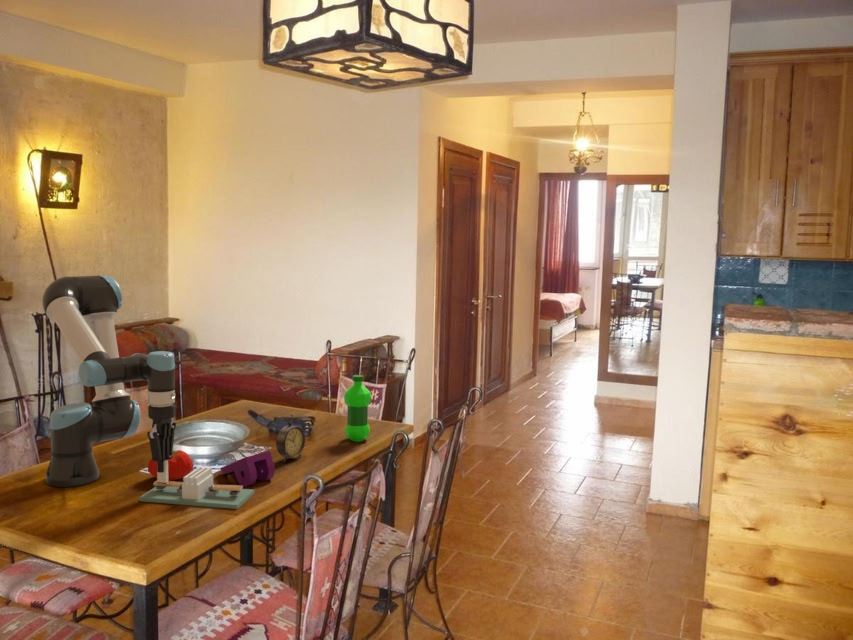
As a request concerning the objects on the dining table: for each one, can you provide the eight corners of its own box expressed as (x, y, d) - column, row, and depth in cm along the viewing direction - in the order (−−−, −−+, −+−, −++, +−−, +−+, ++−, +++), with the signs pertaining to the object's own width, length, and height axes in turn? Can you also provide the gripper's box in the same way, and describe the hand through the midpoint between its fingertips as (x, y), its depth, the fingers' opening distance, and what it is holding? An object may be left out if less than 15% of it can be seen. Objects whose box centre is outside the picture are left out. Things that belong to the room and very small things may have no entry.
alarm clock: (285, 464, 251) (285, 418, 250) (273, 462, 254) (273, 416, 252) (305, 456, 261) (306, 412, 259) (294, 454, 264) (294, 409, 262)
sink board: (139, 501, 215) (138, 475, 214) (161, 486, 227) (161, 462, 226) (237, 509, 210) (237, 483, 209) (254, 493, 223) (254, 469, 222)
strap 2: (208, 490, 217) (208, 486, 216) (212, 487, 219) (212, 483, 219) (239, 491, 215) (239, 487, 215) (243, 488, 218) (242, 484, 218)
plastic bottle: (365, 444, 278) (366, 379, 275) (339, 441, 281) (340, 377, 278) (374, 437, 287) (375, 374, 285) (349, 435, 290) (350, 372, 287)
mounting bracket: (221, 495, 237) (253, 483, 226) (214, 470, 239) (245, 457, 228) (245, 488, 245) (277, 476, 234) (239, 463, 246) (269, 450, 235)
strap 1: (153, 486, 219) (153, 482, 219) (157, 483, 222) (157, 479, 222) (183, 488, 218) (183, 484, 218) (187, 485, 220) (187, 481, 220)
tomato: (195, 470, 243) (195, 444, 242) (192, 483, 231) (192, 456, 230) (151, 473, 240) (150, 446, 239) (146, 485, 228) (145, 458, 227)
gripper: (162, 409, 210) (163, 489, 213) (184, 400, 223) (185, 475, 226) (138, 408, 211) (139, 487, 214) (161, 398, 224) (162, 473, 227)
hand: (162, 481), depth 220 cm, fingers closed
